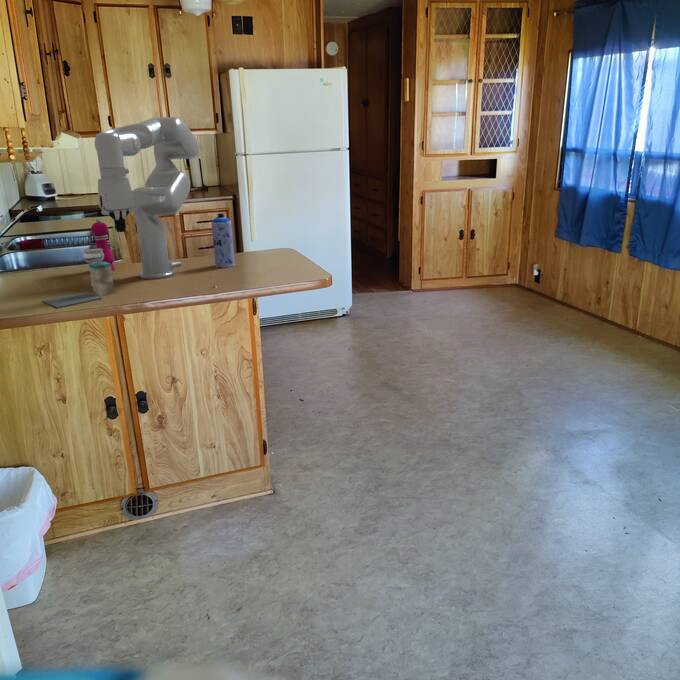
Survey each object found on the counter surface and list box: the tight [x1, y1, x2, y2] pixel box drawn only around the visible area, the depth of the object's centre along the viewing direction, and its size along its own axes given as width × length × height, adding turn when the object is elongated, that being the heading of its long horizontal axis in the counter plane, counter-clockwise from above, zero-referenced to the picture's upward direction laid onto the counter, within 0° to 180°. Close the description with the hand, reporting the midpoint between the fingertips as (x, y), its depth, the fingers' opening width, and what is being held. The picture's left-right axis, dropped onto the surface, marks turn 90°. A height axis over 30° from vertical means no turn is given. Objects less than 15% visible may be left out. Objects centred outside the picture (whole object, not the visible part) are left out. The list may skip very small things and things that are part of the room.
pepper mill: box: [90, 217, 115, 272], centre depth 232 cm, size 7×7×20 cm
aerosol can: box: [211, 213, 236, 268], centre depth 233 cm, size 8×8×20 cm
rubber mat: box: [42, 291, 103, 309], centre depth 192 cm, size 14×12×1 cm
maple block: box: [88, 262, 116, 298], centre depth 198 cm, size 5×5×10 cm
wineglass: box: [82, 247, 104, 286], centre depth 211 cm, size 7×7×12 cm
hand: (121, 231), depth 199 cm, fingers closed
